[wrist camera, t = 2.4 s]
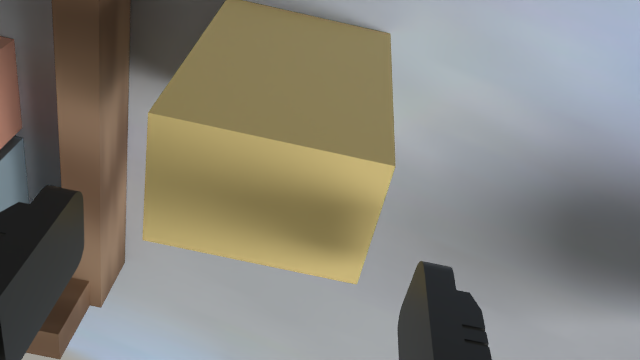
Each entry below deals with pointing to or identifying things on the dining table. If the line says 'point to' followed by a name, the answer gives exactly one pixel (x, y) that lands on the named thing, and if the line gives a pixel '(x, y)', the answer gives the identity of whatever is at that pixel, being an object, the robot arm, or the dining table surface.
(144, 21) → the dining table surface
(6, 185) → the book
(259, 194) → the tan rectangular block
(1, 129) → the book
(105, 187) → the shelf rail
